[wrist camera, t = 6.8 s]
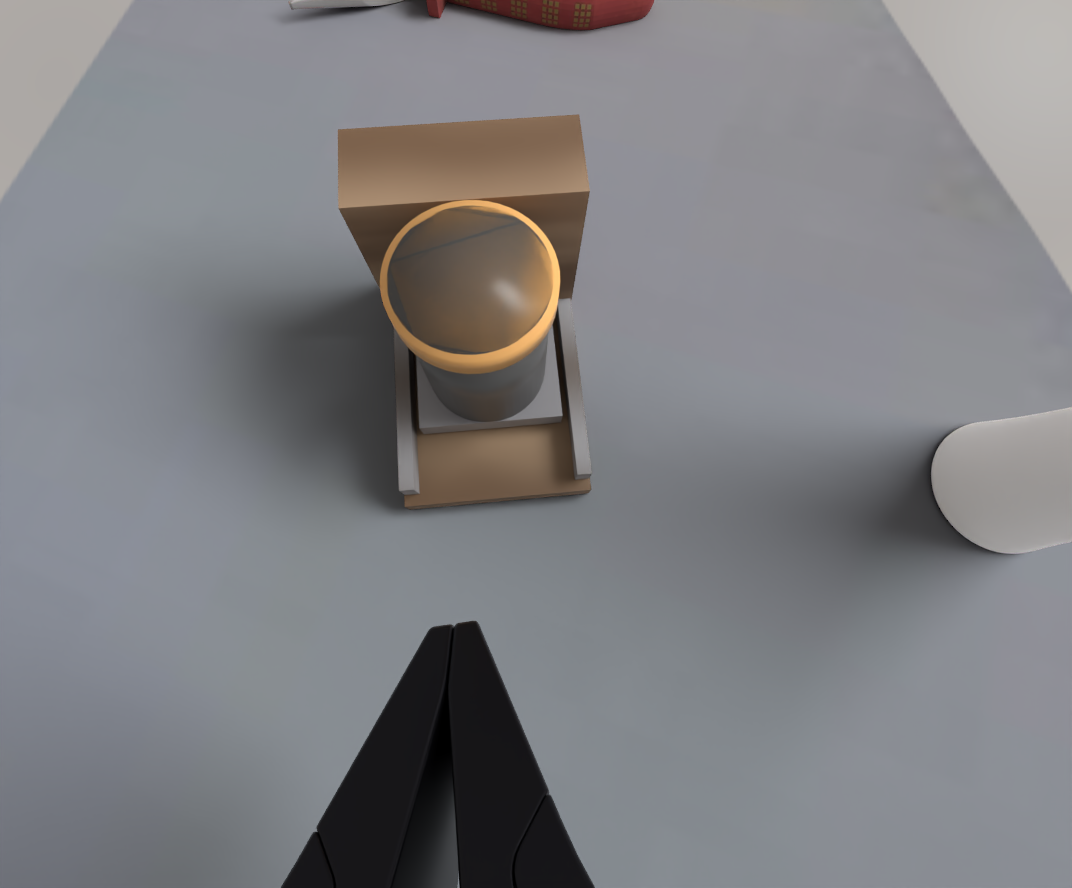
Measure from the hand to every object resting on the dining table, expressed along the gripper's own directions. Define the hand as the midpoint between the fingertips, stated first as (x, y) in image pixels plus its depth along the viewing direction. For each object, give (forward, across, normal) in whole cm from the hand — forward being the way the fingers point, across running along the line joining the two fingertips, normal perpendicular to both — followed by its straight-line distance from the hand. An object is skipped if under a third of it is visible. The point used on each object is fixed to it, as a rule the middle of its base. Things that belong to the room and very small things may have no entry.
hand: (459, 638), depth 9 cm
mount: (+17, 0, +2) cm, 17 cm away
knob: (+16, 0, +2) cm, 16 cm away
